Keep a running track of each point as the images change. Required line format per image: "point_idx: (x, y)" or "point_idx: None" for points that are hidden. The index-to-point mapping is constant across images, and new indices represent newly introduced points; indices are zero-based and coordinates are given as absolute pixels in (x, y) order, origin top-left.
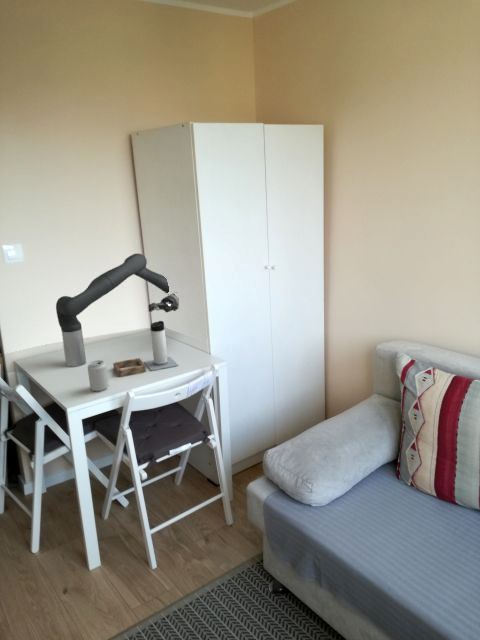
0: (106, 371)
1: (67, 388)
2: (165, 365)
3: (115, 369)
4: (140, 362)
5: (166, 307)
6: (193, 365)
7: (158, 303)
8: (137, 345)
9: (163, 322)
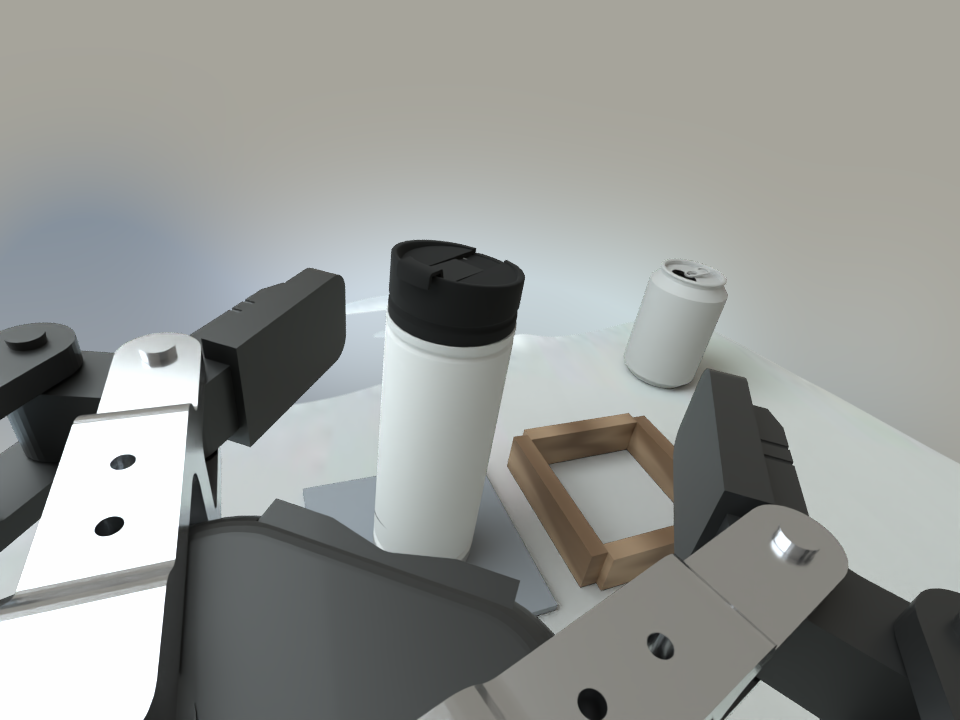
0: (643, 304)
1: (791, 400)
2: None
3: None
4: (557, 483)
5: (304, 297)
6: None
7: (617, 636)
8: None
9: (395, 255)
